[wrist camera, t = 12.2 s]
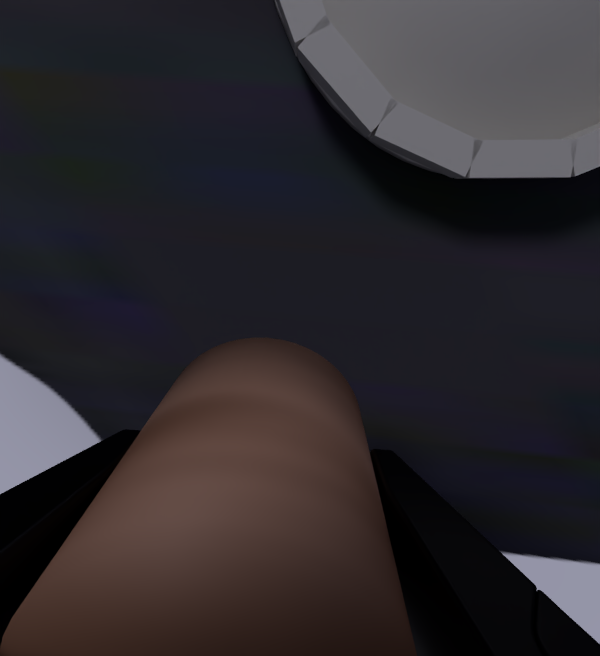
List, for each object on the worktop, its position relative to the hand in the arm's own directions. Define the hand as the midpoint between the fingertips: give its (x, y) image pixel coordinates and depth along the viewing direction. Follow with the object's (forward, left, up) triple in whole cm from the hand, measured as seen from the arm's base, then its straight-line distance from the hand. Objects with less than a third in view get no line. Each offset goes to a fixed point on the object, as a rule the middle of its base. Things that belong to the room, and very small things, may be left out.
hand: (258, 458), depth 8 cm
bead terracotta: (0, 0, -1) cm, 1 cm away
